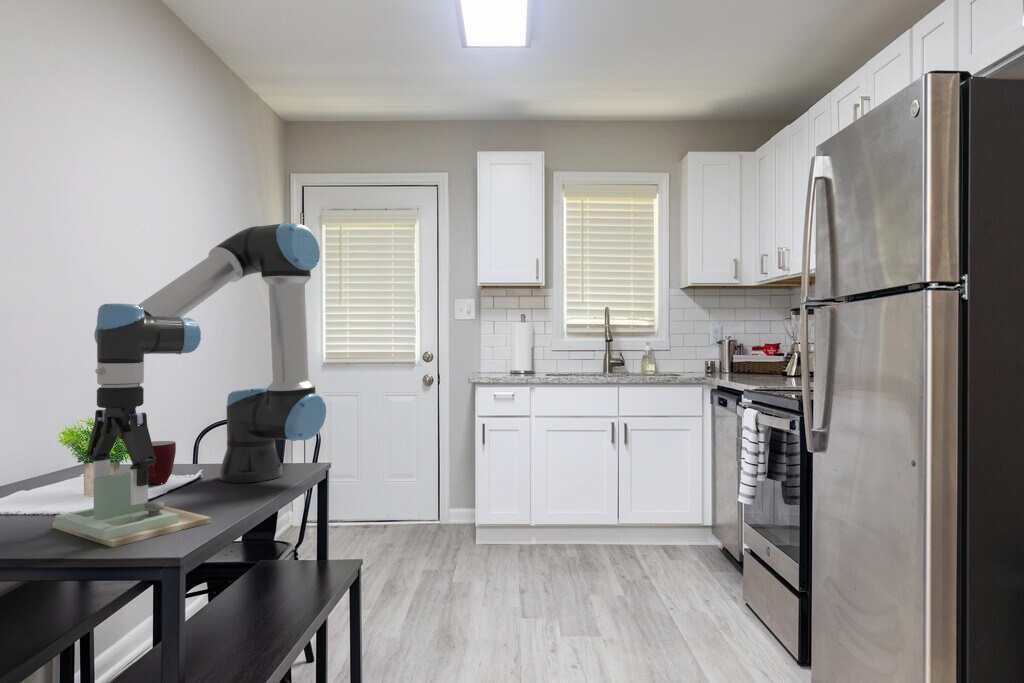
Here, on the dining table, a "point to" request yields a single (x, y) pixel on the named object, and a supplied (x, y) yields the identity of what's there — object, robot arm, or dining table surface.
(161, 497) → the dining table surface
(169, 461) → the mug
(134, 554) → the dining table surface
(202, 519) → the boss board
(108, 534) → the panel
